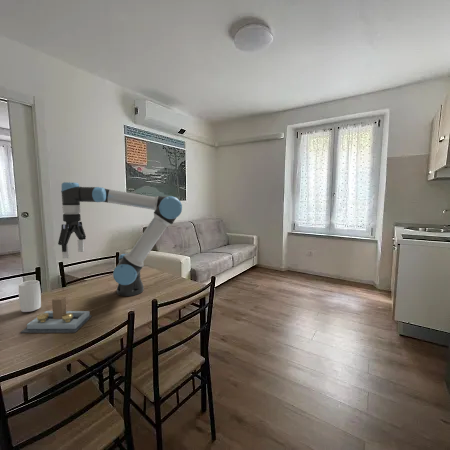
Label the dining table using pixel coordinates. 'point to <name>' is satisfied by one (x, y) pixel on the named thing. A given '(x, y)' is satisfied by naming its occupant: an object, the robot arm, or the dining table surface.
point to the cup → (29, 295)
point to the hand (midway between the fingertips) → (73, 254)
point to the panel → (59, 322)
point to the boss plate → (67, 318)
